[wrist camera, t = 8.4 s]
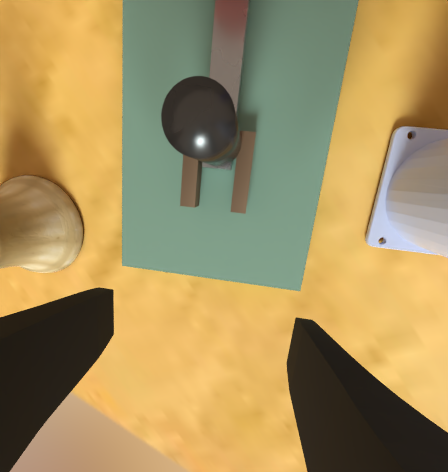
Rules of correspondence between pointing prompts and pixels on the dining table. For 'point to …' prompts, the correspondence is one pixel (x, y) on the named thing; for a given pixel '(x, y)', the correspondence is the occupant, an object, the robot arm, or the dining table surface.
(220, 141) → the kicker rod
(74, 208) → the hand bell
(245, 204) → the rail guides
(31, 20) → the dining table surface
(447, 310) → the dining table surface
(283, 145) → the mat
